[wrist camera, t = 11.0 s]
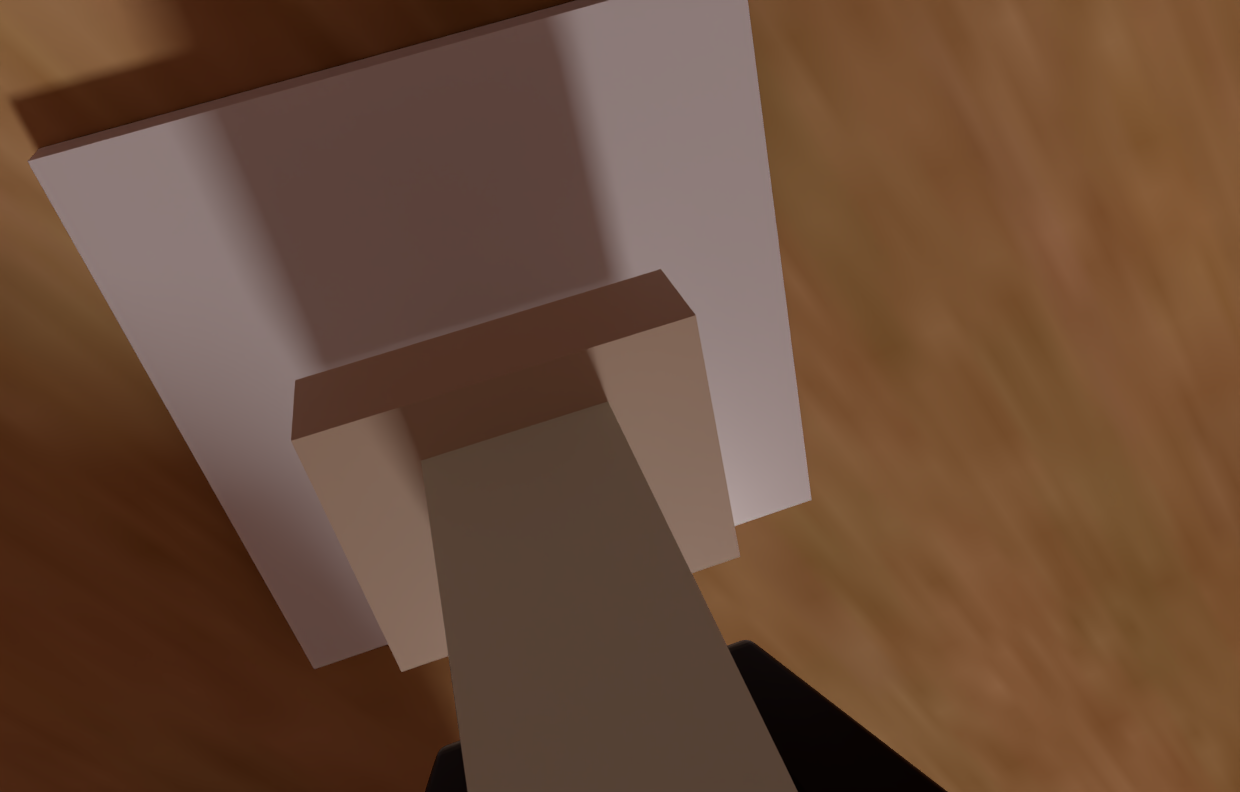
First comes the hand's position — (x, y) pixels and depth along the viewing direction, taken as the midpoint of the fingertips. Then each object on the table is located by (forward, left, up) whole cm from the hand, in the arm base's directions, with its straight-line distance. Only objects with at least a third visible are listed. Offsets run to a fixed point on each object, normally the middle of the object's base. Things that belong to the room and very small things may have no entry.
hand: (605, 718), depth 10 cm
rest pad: (0, 0, -8) cm, 8 cm away
